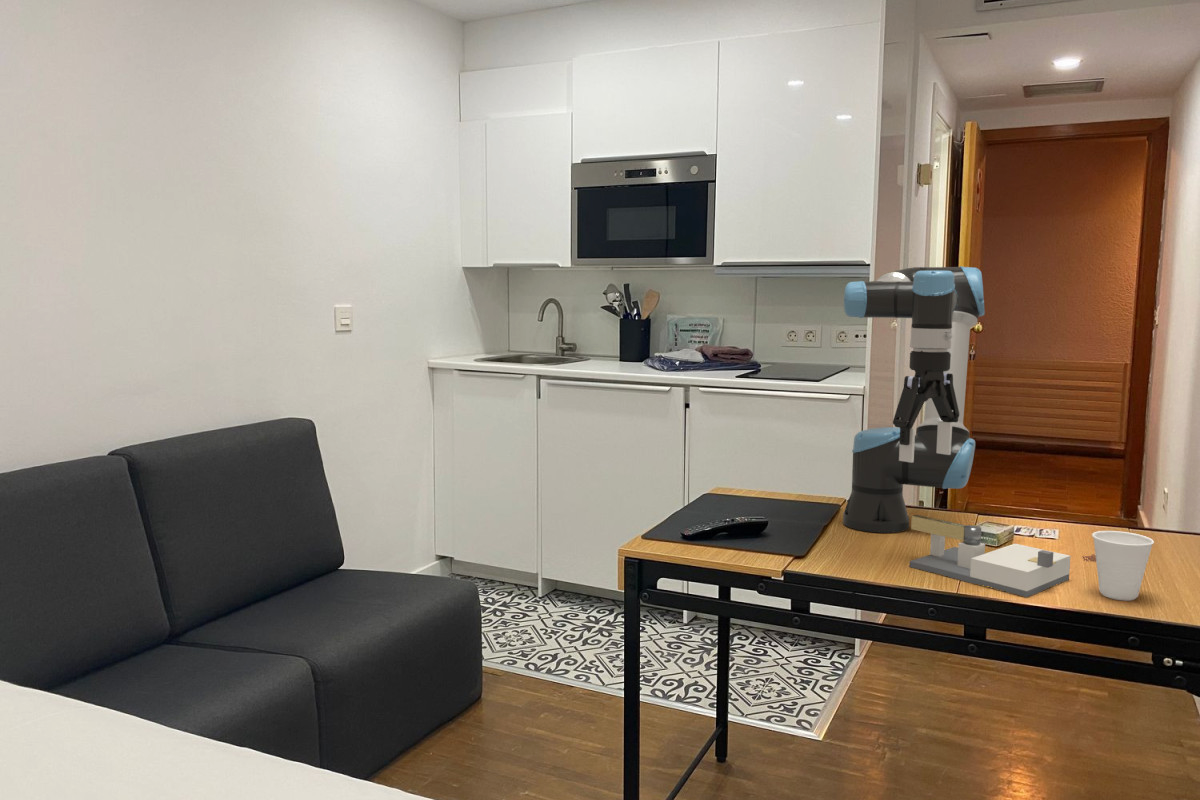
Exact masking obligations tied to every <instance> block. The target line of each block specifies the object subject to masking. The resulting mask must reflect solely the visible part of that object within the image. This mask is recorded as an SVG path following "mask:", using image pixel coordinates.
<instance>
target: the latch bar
mask: <svg viewBox="0 0 1200 800" xmlns="http://www.w3.org/2000/svg"><path fill="white" fill-rule="evenodd" d="M910 527H911V528H910V529H911V530H913V531H919V532H922V533H926V534H930V535H931V534H935V535H940V536H944V537H945V538H950V539H954V540H958V541H961V542H965V543H968V544H980V543H982V527H981V526H979V525H970V524H969V525H966V524H961V523H956V522H952V521H947V520H942V519H939V518H933V517H927V516H924V515H919V514H915V515H914V514H913V515H912V516H911V525H910Z"/></svg>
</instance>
